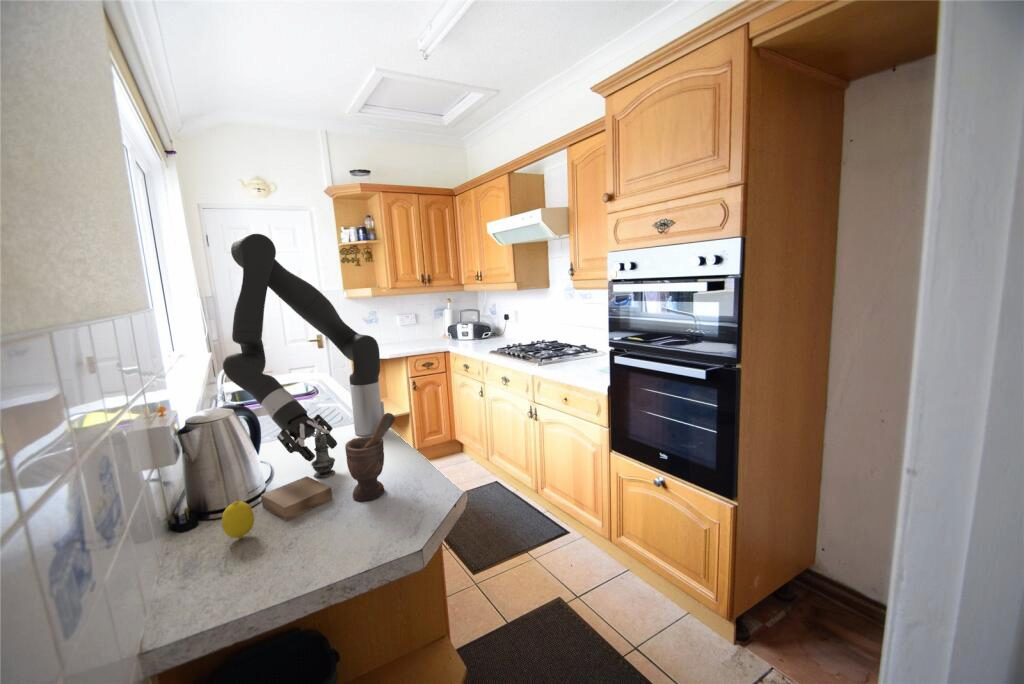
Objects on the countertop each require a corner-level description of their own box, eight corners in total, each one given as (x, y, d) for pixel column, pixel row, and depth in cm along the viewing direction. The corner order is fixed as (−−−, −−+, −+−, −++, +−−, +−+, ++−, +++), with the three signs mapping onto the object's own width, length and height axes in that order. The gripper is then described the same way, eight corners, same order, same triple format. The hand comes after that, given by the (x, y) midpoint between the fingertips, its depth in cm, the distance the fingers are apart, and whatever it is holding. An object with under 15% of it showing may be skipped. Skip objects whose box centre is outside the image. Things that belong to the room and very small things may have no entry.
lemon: (262, 532, 91) (257, 496, 90) (238, 548, 86) (232, 510, 85) (243, 528, 93) (237, 493, 92) (218, 544, 88) (212, 506, 87)
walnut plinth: (308, 487, 111) (306, 476, 110) (332, 499, 104) (331, 487, 104) (262, 506, 102) (260, 494, 102) (286, 520, 96) (284, 507, 95)
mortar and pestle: (399, 480, 112) (392, 405, 109) (402, 496, 104) (395, 414, 101) (350, 490, 108) (342, 411, 105) (350, 506, 100) (341, 422, 97)
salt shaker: (340, 469, 121) (335, 427, 119) (329, 479, 115) (324, 435, 113) (320, 469, 121) (315, 427, 119) (308, 479, 115) (302, 435, 114)
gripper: (269, 407, 111) (312, 454, 109) (310, 392, 124) (348, 434, 122) (255, 426, 113) (297, 473, 111) (297, 410, 126) (334, 451, 125)
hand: (324, 452), depth 117 cm, fingers open, 8 cm apart
